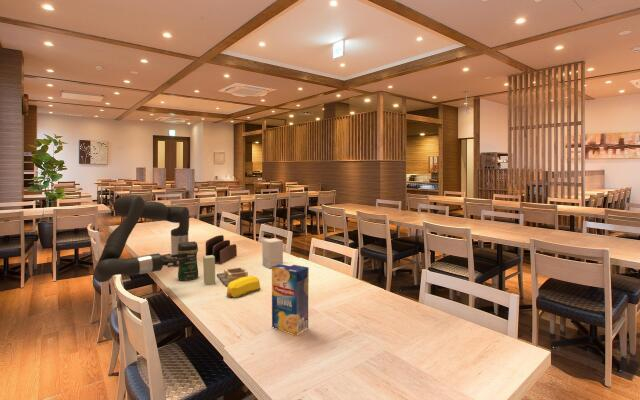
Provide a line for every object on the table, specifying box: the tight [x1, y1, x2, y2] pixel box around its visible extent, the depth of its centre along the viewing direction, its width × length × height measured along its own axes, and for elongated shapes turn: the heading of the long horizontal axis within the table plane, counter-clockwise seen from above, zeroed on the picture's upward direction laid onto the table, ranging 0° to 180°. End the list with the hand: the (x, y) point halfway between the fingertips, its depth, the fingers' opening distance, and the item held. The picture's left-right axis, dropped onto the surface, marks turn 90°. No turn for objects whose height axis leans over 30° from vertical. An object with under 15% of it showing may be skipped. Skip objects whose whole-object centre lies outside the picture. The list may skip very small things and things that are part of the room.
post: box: [202, 255, 216, 286], centre depth 172 cm, size 4×4×13 cm
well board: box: [216, 266, 249, 288], centre depth 178 cm, size 18×13×4 cm
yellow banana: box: [226, 275, 261, 299], centre depth 160 cm, size 18×7×8 cm
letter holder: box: [205, 234, 238, 266], centre depth 214 cm, size 10×20×14 cm, turn 166°
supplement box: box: [261, 237, 284, 269], centre depth 202 cm, size 9×9×15 cm
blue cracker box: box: [271, 262, 310, 336], centre depth 125 cm, size 7×11×22 cm, turn 57°
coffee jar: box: [177, 241, 199, 281], centre depth 178 cm, size 10×8×19 cm
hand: (185, 257), depth 163 cm, fingers open, 8 cm apart
